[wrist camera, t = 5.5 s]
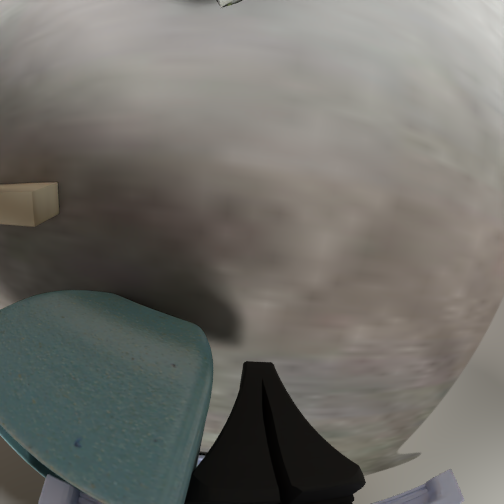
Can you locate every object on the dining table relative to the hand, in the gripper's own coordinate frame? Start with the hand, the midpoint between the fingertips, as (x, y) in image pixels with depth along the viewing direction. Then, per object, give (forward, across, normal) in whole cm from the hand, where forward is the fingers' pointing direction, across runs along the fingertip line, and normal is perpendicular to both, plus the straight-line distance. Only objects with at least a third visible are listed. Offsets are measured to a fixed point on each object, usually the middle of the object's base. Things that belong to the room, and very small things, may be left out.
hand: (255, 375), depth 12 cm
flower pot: (+1, +5, 0) cm, 5 cm away
